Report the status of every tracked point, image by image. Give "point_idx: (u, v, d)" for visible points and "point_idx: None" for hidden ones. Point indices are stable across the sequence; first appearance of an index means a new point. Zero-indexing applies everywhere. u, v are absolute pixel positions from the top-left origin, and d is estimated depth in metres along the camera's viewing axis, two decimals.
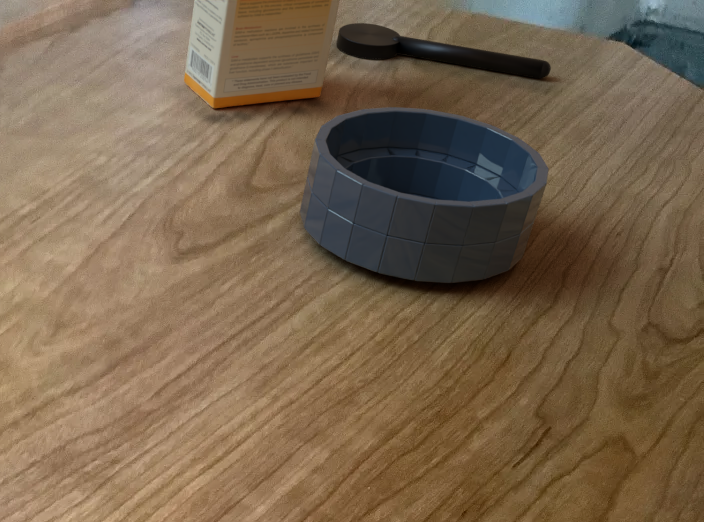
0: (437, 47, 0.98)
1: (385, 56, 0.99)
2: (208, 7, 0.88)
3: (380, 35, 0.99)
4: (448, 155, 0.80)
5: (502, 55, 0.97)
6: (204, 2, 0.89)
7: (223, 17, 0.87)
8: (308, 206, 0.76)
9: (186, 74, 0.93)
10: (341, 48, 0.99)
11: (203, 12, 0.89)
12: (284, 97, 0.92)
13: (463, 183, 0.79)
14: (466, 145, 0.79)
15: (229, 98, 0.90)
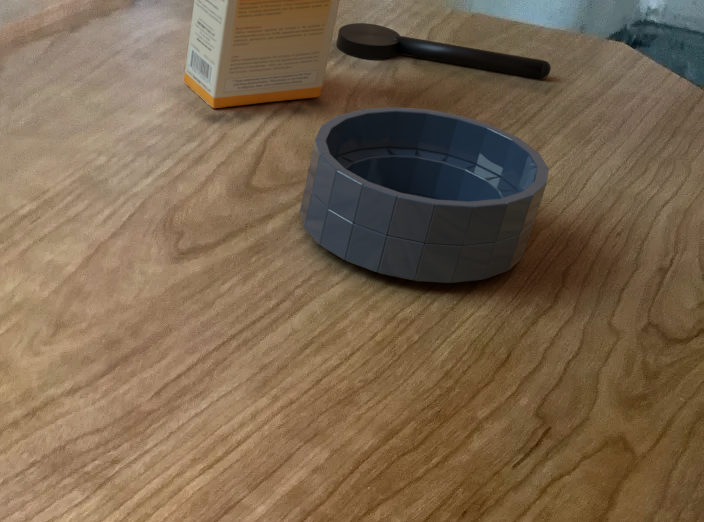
0: (437, 47, 0.98)
1: (385, 56, 0.99)
2: (208, 7, 0.88)
3: (380, 35, 0.99)
4: (448, 155, 0.80)
5: (502, 55, 0.97)
6: (204, 2, 0.89)
7: (223, 17, 0.87)
8: (308, 206, 0.76)
9: (186, 74, 0.93)
10: (341, 48, 0.99)
11: (203, 12, 0.89)
12: (284, 97, 0.92)
13: (463, 183, 0.79)
14: (466, 145, 0.79)
15: (229, 98, 0.90)
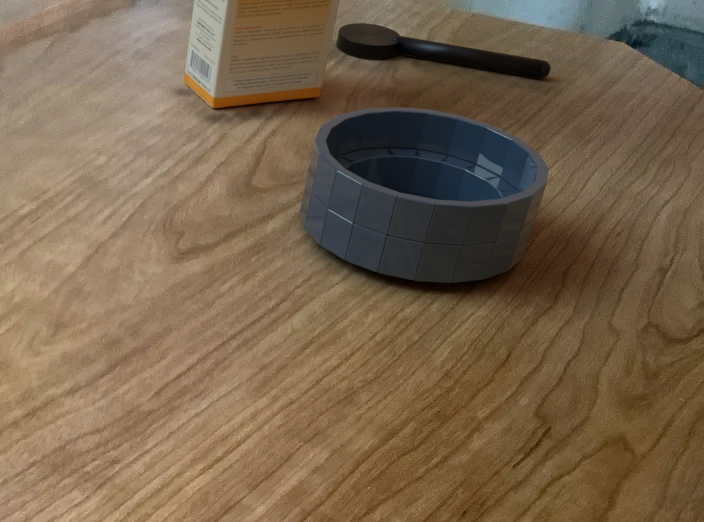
0: (437, 47, 0.98)
1: (385, 56, 0.99)
2: (208, 7, 0.88)
3: (380, 35, 0.99)
4: (448, 155, 0.80)
5: (502, 55, 0.97)
6: (203, 2, 0.89)
7: (223, 17, 0.87)
8: (308, 206, 0.76)
9: (186, 74, 0.93)
10: (341, 48, 0.99)
11: (203, 11, 0.89)
12: (284, 97, 0.92)
13: (463, 183, 0.79)
14: (466, 145, 0.79)
15: (229, 98, 0.90)
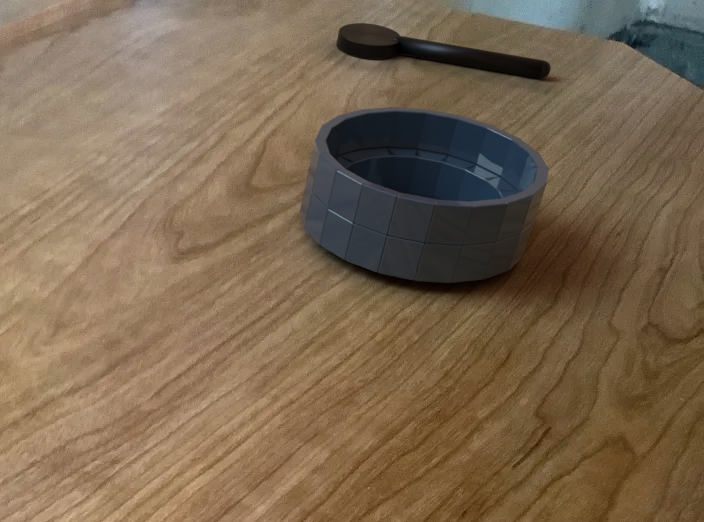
0: (437, 47, 0.98)
1: (385, 56, 0.99)
2: None
3: (380, 35, 0.99)
4: (448, 155, 0.80)
5: (502, 55, 0.97)
6: None
7: None
8: (308, 206, 0.76)
9: None
10: (341, 48, 0.99)
11: None
12: None
13: (463, 183, 0.79)
14: (466, 145, 0.79)
15: None
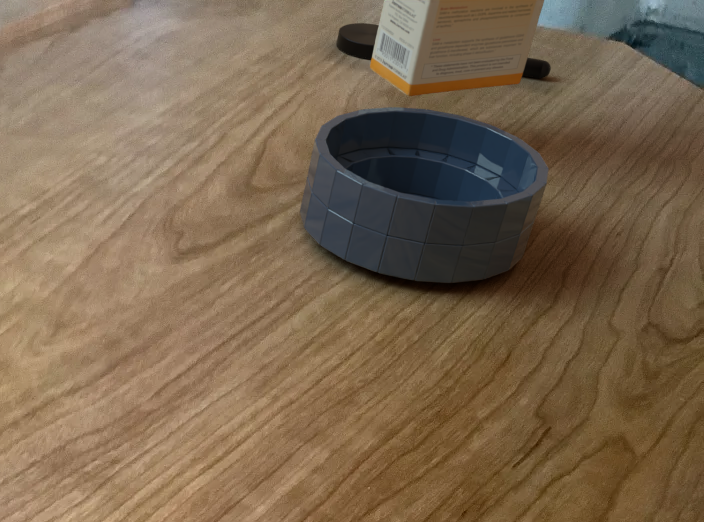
0: None
1: None
2: None
3: None
4: (448, 155, 0.80)
5: None
6: None
7: None
8: (308, 206, 0.76)
9: (373, 59, 0.86)
10: (341, 48, 0.99)
11: None
12: (483, 84, 0.84)
13: (463, 183, 0.79)
14: (466, 145, 0.79)
15: (426, 85, 0.83)
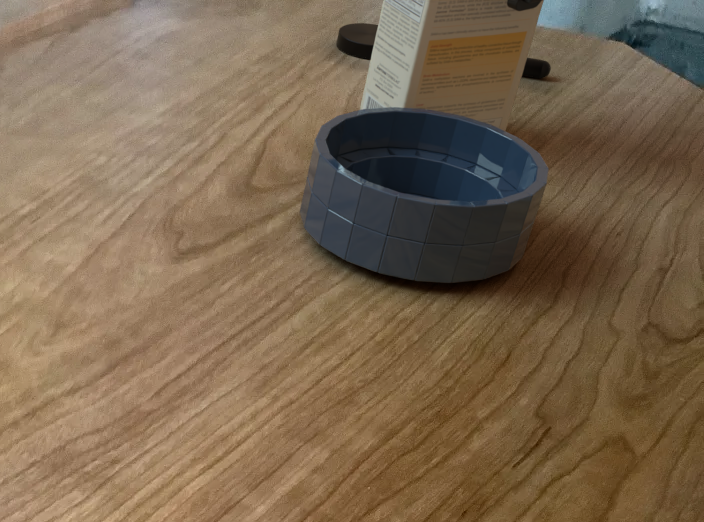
0: None
1: None
2: (392, 53, 0.84)
3: None
4: (448, 155, 0.80)
5: None
6: (386, 47, 0.84)
7: (411, 64, 0.82)
8: (308, 206, 0.76)
9: None
10: (341, 48, 0.99)
11: (385, 57, 0.84)
12: None
13: (463, 183, 0.79)
14: (466, 145, 0.79)
15: None
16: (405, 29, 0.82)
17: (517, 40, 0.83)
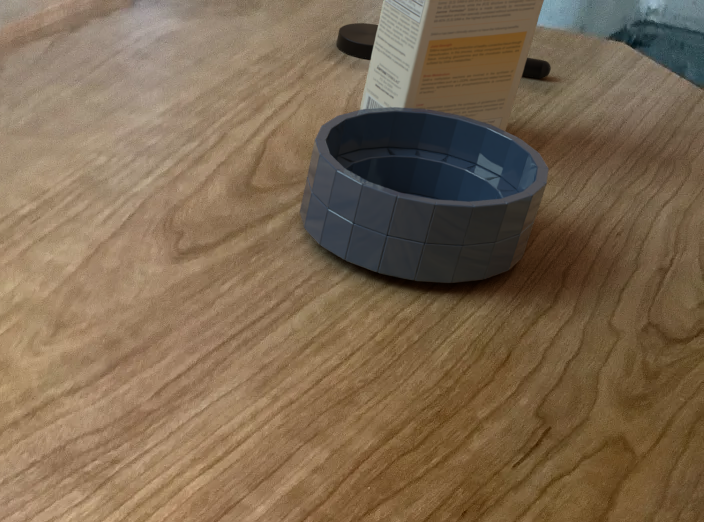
0: None
1: None
2: (392, 53, 0.84)
3: None
4: (448, 155, 0.80)
5: None
6: (386, 47, 0.84)
7: (411, 64, 0.82)
8: (308, 206, 0.76)
9: None
10: (341, 48, 0.99)
11: (385, 57, 0.84)
12: None
13: (463, 183, 0.79)
14: (466, 145, 0.79)
15: None
16: (405, 29, 0.82)
17: (517, 41, 0.83)
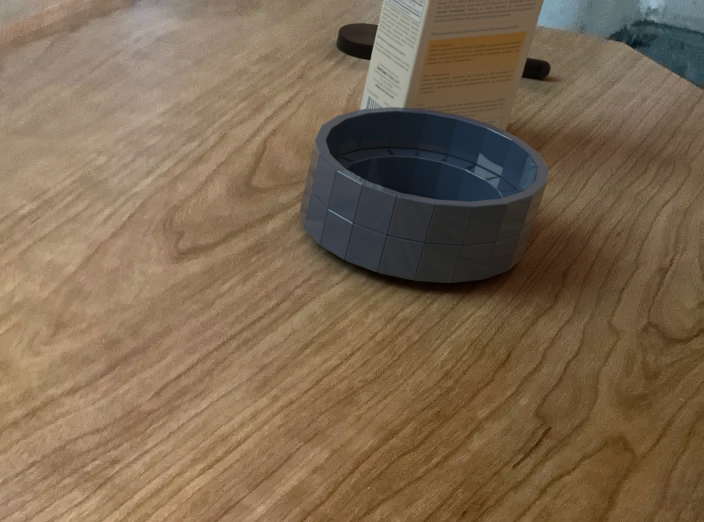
0: None
1: None
2: (392, 53, 0.84)
3: None
4: (448, 155, 0.80)
5: None
6: (386, 47, 0.84)
7: (411, 64, 0.82)
8: (308, 206, 0.76)
9: None
10: (341, 48, 0.99)
11: (385, 57, 0.84)
12: None
13: (463, 183, 0.79)
14: (466, 145, 0.79)
15: None
16: (405, 29, 0.82)
17: (517, 40, 0.83)
